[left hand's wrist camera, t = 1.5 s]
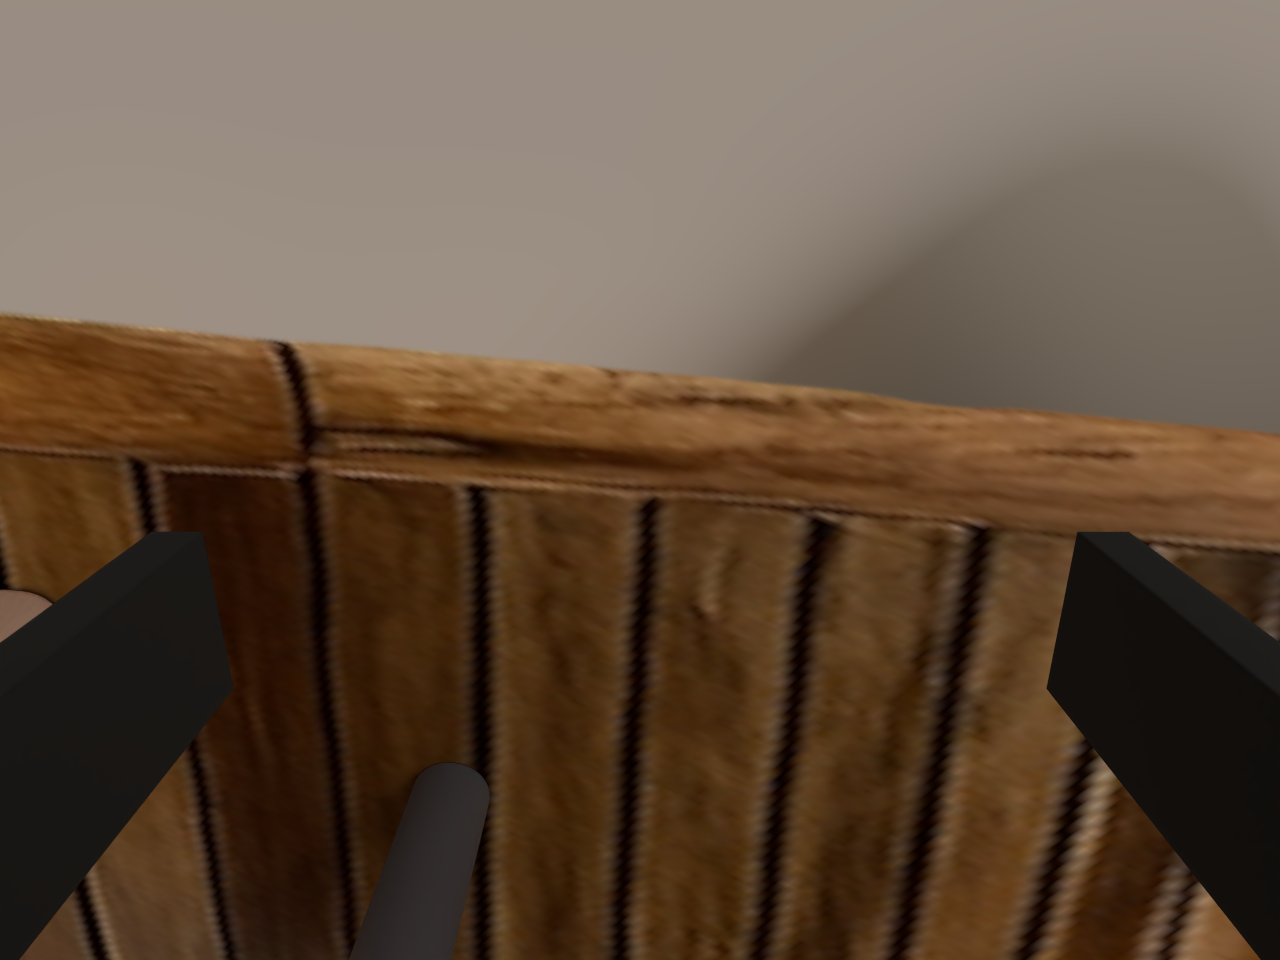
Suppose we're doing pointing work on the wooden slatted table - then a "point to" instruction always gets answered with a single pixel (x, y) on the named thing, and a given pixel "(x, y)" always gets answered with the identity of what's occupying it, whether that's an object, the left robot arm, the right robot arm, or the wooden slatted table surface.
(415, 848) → the dark grey cylinder
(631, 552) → the wooden slatted table surface
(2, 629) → the anatomical model
